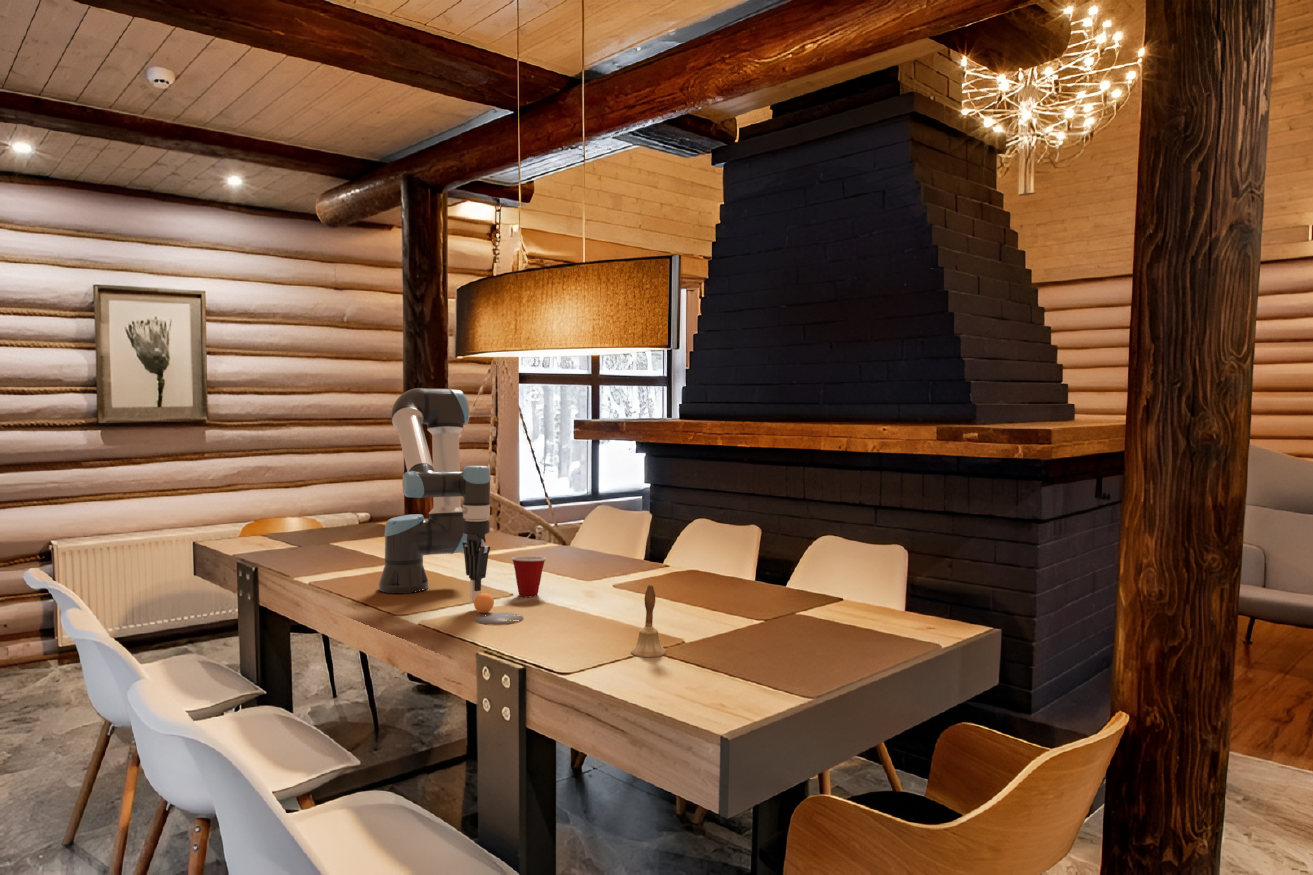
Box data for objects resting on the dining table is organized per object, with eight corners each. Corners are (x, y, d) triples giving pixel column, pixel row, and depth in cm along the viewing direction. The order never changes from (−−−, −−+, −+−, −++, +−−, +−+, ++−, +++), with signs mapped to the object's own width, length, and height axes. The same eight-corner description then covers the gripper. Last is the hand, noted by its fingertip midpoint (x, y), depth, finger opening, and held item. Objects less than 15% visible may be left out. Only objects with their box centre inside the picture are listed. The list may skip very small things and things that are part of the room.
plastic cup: (549, 592, 257) (550, 554, 257) (541, 599, 246) (541, 560, 246) (516, 590, 258) (516, 553, 258) (506, 598, 247) (507, 559, 247)
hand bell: (646, 645, 197) (647, 580, 197) (672, 652, 192) (674, 585, 192) (623, 653, 191) (624, 585, 190) (650, 660, 186) (651, 590, 185)
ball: (477, 592, 225) (480, 612, 224) (495, 590, 228) (498, 609, 227) (469, 596, 229) (472, 615, 228) (487, 593, 232) (489, 613, 231)
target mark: (466, 617, 222) (466, 616, 222) (508, 611, 230) (508, 610, 230) (488, 627, 212) (488, 626, 212) (532, 620, 220) (532, 619, 220)
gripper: (454, 518, 234) (453, 599, 235) (474, 522, 224) (473, 607, 224) (477, 516, 239) (477, 596, 239) (499, 521, 229) (498, 604, 229)
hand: (475, 601), depth 232 cm, fingers closed
